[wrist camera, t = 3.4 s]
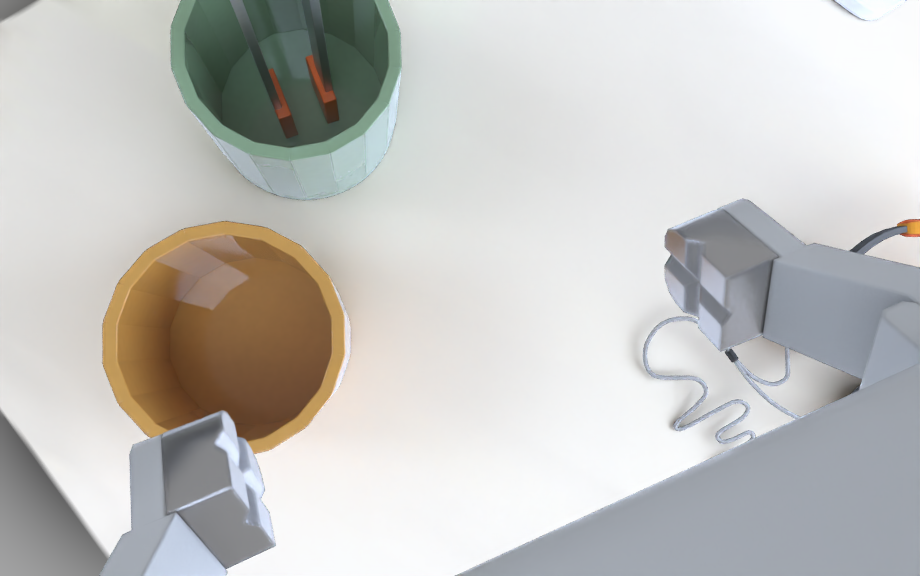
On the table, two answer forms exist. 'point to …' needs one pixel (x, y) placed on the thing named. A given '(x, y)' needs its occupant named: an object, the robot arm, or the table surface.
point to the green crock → (291, 90)
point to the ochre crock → (226, 334)
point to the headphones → (903, 228)
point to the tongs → (315, 62)
